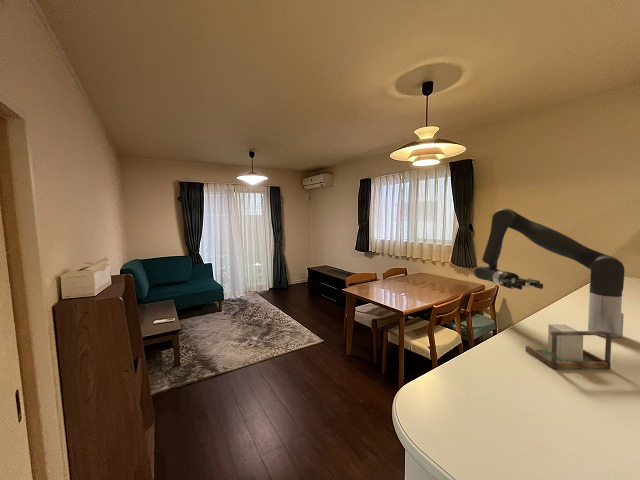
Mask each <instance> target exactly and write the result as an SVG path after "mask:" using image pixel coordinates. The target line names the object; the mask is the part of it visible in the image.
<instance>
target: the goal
mask: <svg viewBox="0 0 640 480" xmlns="http://www.w3.org/2000/svg"><path fill="white" fill-rule="evenodd" d="M612 333H613V332H611V331H588V330H577V331H551V334H552V354H551V353H550V352H548V349H534V348H532V346H530V345H525V352H526V353H528V354H529V355H531V356H532V357H534V358H535V359H537V360H538V361H540V362H542V363H543V364H545V366H548V367H549V368H550V369H552V370H611V369H612V368H611V365H612V363H611V354H612V338H611V337H612ZM557 335H583V336H600V335H606V337H605V347H604V349H605V351H604V359H603V358H601V357H599V356H597V355H595V354H593V353H591V352H589V351H587V350H585V349H583V362H563V361H562V360H560V359H559V358H557V357H556V352H557Z"/></svg>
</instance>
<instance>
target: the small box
mask: <svg viewBox="0 0 640 480" xmlns="http://www.w3.org/2000/svg"><path fill="white" fill-rule="evenodd" d="M547 325H548V329H547V332H548V335H547V336H548V337H547V338H548V339H547V341H548V342H547V346H548V347H547V350H548V352H550V353H551V354H552V334H551V331H578V330H577V329H574V328H573V327H571V326H568V325H567V324H553V323H552V324H550V323H549V324H547ZM583 350H584V335H557V352H556V357H557V358H559V359H560V360H562V361H563V362H583Z"/></svg>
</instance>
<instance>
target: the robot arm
mask: <svg viewBox="0 0 640 480" xmlns="http://www.w3.org/2000/svg"><path fill="white" fill-rule="evenodd" d="M491 217H492V218H491V225H490V232H489V237H488V240H487V242H486V246H485V249H484V252H483V255H482V259H481V260H482V262H483V263H485V264H487V265H488V266H482V265H478V266H477V267H475V268H474V271H473V274H474V277H476V278H477V279H479V280H484V281H489V282H492V283H494V284H497V285H499V286H501V287H503V288H507V289H512V290H513V289H517V290H523V288H531V287H532V288H536V289H540V290H542V289H544V284H543V283H541V282H540V280H537V279H533V278H523V277H520V276H519V275H518V274H517V273H515V272H510V271H507V270H501V269H498V261H499V258H500V256H501V252H502V249H503V241H504V237H505V235H506V232H507V230H508V229H511V230H514V231H516V232H518V233H520V234H522V235H523V236H525V238H527V239H528V240H529V241H531V242H532V243H534V244H535V245H537V246H538V247H540V248H543V249H545V250H547V251H549V252H551V253H554V254H556V255H559V256H562V257H564V258H568V259H571V260H573V261H575V262H576V263H578V264H581V265H582V266H584V267H586V268H587V269H588V270H590V281H589V295H588V296H589V297H588V298H589V299H588V319H587V320H588V323H587V324H588V325H587V331H611V332H613V333H612V337H611V339H612V338H614V339H617V338H621V337H623V335H624V316H625V315H624V313H622V305H623V304H622V302H623V301H622V300H623V290H624V286H625V285H624V283H625V266H624V264H623V263H622V261H621V260H619V259H618V258H616V257H614V256H612V255H608V254H605V253H602V252H600V251H598V250H594V249H592V248H589V247H587V246H585V245H583V244H582V243H580V242H578V241H577V240H575V239H573V238H571V237H569V236H567V235H566V234H563V233H562V232H559V231H557V230H555V229H553V228H550V227H548V226H545V225H543V224H541V223H538V222H535V221H533V220H531V219H528V218H526V217H525V216H523V215H521V214H519V213H518V212H516V211H514V210H513V209H510V208H501V209H497V210H496V211H495V212H494V213H493V214H492V216H491ZM526 284H527V285H526ZM599 336H601V337H605V338H606V335H599Z"/></svg>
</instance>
